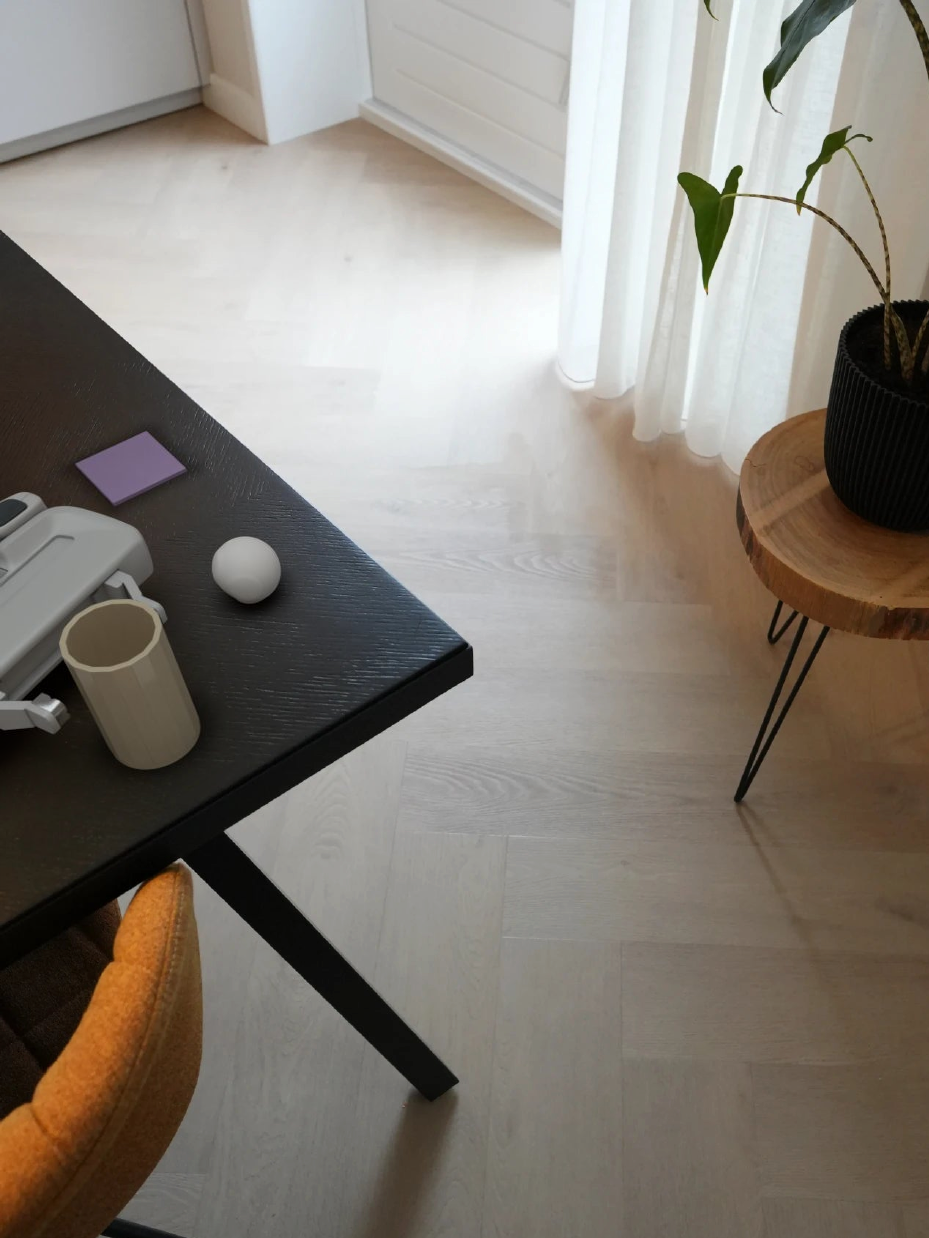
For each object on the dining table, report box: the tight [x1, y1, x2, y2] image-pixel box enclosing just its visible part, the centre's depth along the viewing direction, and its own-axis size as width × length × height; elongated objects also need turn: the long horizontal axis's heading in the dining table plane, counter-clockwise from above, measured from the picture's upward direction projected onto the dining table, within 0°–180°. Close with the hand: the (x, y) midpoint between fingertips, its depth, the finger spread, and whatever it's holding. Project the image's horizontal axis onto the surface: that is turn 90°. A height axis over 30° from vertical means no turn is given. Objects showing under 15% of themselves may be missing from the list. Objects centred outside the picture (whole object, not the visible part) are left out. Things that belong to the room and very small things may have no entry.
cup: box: [59, 599, 202, 770], centre depth 73 cm, size 6×6×10 cm
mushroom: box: [211, 536, 282, 605], centre depth 83 cm, size 5×5×5 cm
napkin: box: [75, 430, 188, 507], centre depth 94 cm, size 7×7×1 cm
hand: (111, 668), depth 73 cm, fingers open, 8 cm apart
